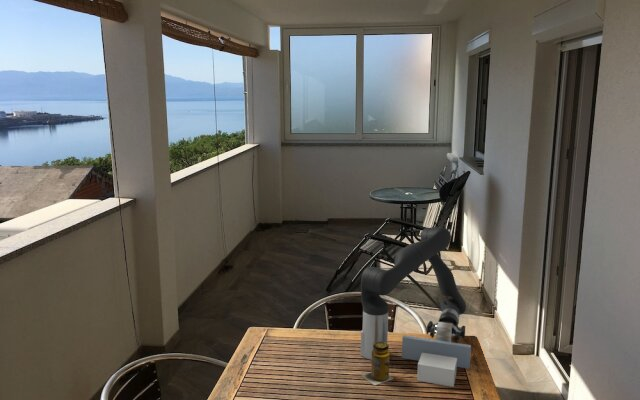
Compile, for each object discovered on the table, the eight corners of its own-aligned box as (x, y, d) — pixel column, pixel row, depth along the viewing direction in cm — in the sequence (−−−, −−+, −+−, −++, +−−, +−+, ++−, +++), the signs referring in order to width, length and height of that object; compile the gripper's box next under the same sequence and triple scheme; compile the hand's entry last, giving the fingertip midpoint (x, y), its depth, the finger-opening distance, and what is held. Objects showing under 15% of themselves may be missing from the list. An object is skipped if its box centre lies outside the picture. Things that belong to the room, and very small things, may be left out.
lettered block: (435, 357, 199) (436, 327, 196) (436, 351, 203) (438, 321, 201) (448, 360, 197) (450, 329, 195) (450, 353, 202) (452, 323, 200)
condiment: (394, 378, 183) (395, 345, 181) (374, 386, 179) (375, 352, 177) (380, 370, 189) (381, 337, 187) (361, 376, 185) (361, 343, 183)
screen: (401, 357, 198) (402, 337, 197) (402, 355, 200) (403, 335, 199) (469, 368, 191) (470, 347, 189) (469, 366, 192) (471, 345, 191)
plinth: (417, 380, 182) (417, 364, 181) (421, 368, 191) (422, 352, 190) (453, 387, 178) (454, 370, 177) (456, 374, 187) (457, 358, 186)
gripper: (431, 309, 217) (425, 324, 202) (467, 314, 213) (464, 330, 198) (430, 327, 219) (424, 343, 204) (466, 332, 214) (463, 349, 199)
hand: (444, 337), depth 201 cm, fingers open, 8 cm apart
